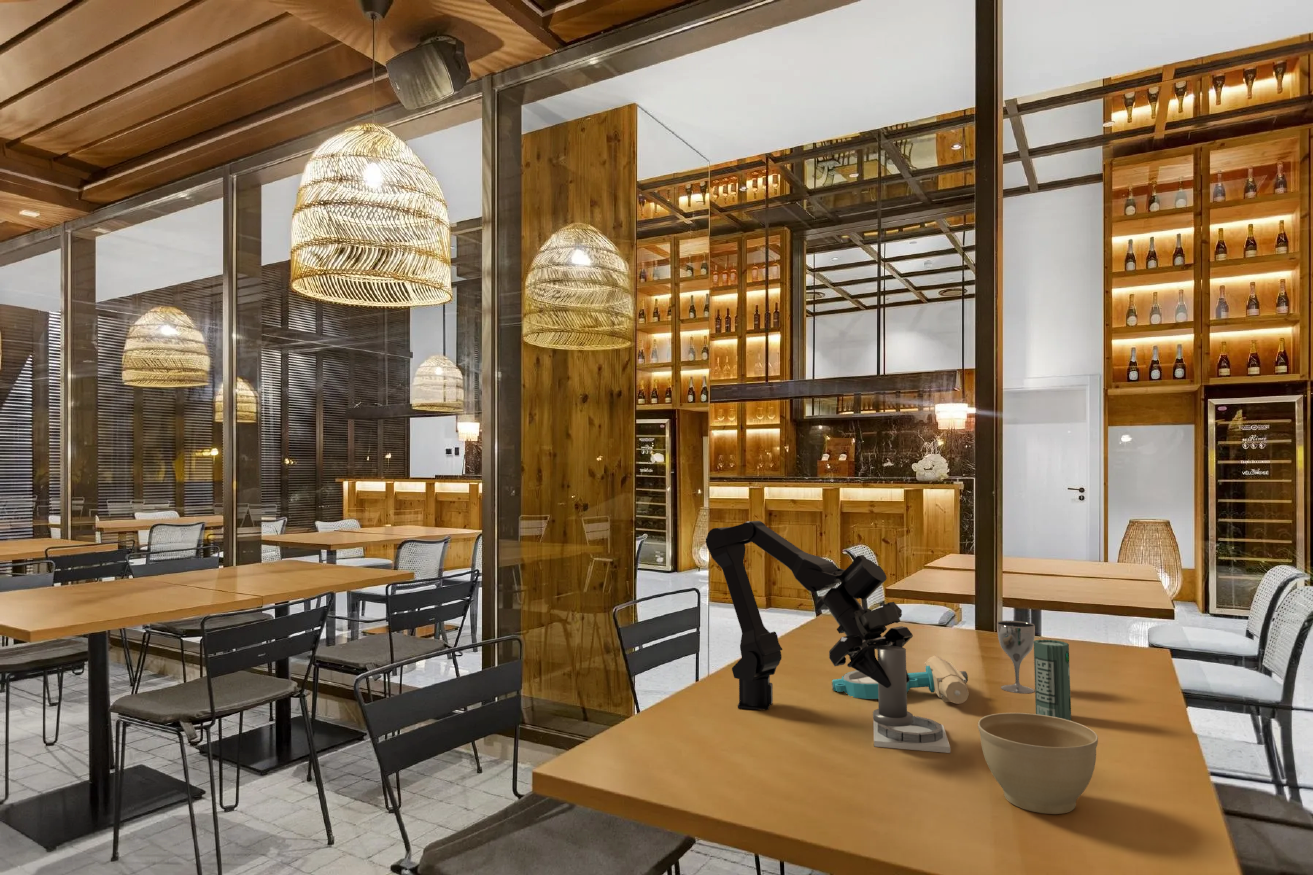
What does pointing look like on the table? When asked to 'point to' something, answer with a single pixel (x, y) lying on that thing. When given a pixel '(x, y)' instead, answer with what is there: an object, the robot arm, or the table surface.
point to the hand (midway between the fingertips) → (898, 684)
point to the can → (1052, 678)
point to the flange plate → (912, 736)
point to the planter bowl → (1039, 759)
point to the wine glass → (1016, 647)
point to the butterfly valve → (912, 682)
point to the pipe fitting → (893, 688)
